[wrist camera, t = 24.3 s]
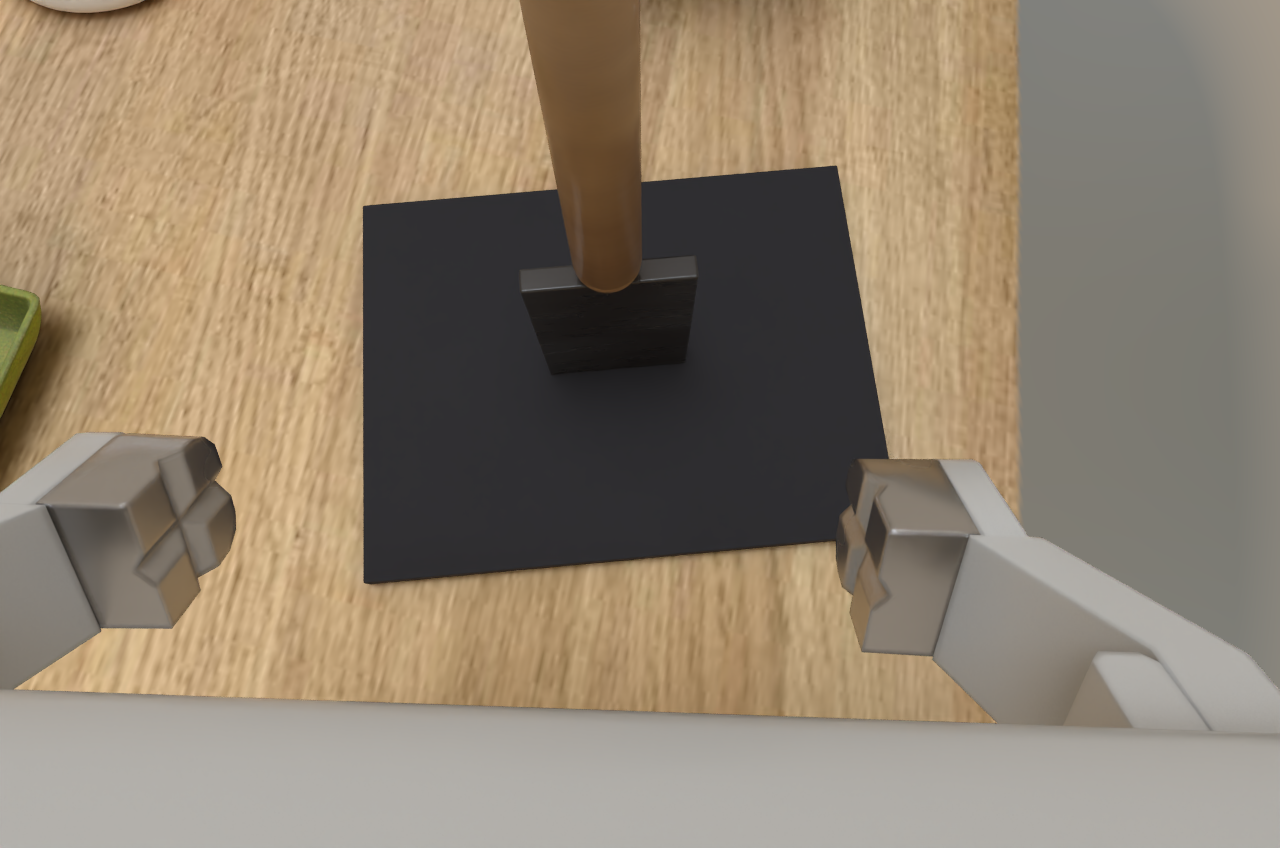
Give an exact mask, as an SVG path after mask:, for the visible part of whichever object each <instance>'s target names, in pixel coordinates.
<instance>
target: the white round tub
mask: <svg viewBox="0 0 1280 848" xmlns="http://www.w3.org/2000/svg"><path fill="white" fill-rule="evenodd" d="M30 1H32V2H34V3H37V4H39V5H42V6H45V7H47V8H51V9H55V10H60V11H66V12H76V13H93V12H102V11H110V10H115V9H120V8H124V7H128V6H131V5H134V4H137V3H140V2H143V1H145V0H30Z"/></svg>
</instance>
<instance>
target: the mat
mask: <svg viewBox="0 0 1280 848" xmlns="http://www.w3.org/2000/svg"><path fill="white" fill-rule="evenodd" d="M641 207H642V259H651V258H663V257H675V256H686V255H695V256H696V259H697V267H698V283H697V289H696V296H695V303H694V309H693V316H692V322H691V329H690V335H689V342H688V348H687V355H686V361H685V363H677V364H666V365H654V366H643V367H632V368H620V369H609V370H598V371H587V372H575V373H564V374H553V375H552V374H551V373H550V371H549V368H548V365H547V363H546V360H545V357H544V355H543V352H542V349H541V347H540V344H539V341H538V339H537V336H536V333H535V331H534V328H533V325H532V322H531V320H530V317H529V314H528V312H527V309H526V306H525V304H524V301H523V298H522V296H521V293H520V283H519V271H520V270H524V269H535V268H547V267H558V266H570V265H572V260H571V255H570V250H569V245H568V240H567V235H566V230H565V225H564V220H563V215H562V210H561V205H560V200H559V195H558V190H545V191H533V192H521V193H510V194H498V195H486V196H474V197H463V198H451V199H439V200H427V201H416V202H404V203H392V204H380V205H369V206H363V476H364V583H366V584H377V583H388V582H399V581H410V580H420V579H431V578H442V577H452V576H463V575H474V574H484V573H495V572H506V571H516V570H527V569H538V568H549V567H559V566H570V565H581V564H591V563H602V562H613V561H623V560H634V559H645V558H655V557H666V556H677V555H688V554H698V553H709V552H720V551H730V550H741V549H752V548H762V547H773V546H784V545H794V544H805V543H816V542H827V541H836V535H837V528H838V522H839V516H840V514H841V513H842V512H843V511H845V510H846V509H847V508H848V507H849V506H850V505H851V503H850V500H849V497H848V494H847V491H846V488H845V484H846V479H847V474H848V470H849V467H850V465H851V462H852V460H853V459H889V457H888V452H887V446H886V441H885V435H884V429H883V424H882V418H881V412H880V407H879V401H878V395H877V390H876V384H875V378H874V373H873V367H872V361H871V356H870V350H869V344H868V339H867V333H866V328H865V322H864V316H863V311H862V305H861V299H860V294H859V288H858V282H857V277H856V271H855V265H854V260H853V254H852V248H851V243H850V237H849V231H848V226H847V220H846V215H845V209H844V203H843V198H842V192H841V186H840V181H839V175H838V169H837V166H827V167H815V168H803V169H792V170H780V171H768V172H756V173H745V174H733V175H721V176H709V177H698V178H686V179H674V180H662V181H651V182H641Z"/></svg>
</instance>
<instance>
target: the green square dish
mask: <svg viewBox="0 0 1280 848" xmlns="http://www.w3.org/2000/svg"><path fill="white" fill-rule="evenodd" d="M40 325H41V306H40V300H39V298H38V296H37V295H35V294H34V293H31V292H28V291H25V290H21V289H16V288H12V287H8V286H5V285H0V418H1V416H2V414H3V412H4V410H5V407H6V405H7V403H8V401H9V399H10V397H11V395H12V393H13V390H14V388H15V386H16V384H17V382H18V380H19V378H20V375H21V373H22V371H23V369H24V367H25V365H26V363H27V360H28V358H29V356H30V354H31V352H32V350H33V348H34V345H35V343H36V340H37V338H38V334H39V330H40Z"/></svg>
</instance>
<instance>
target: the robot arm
mask: <svg viewBox="0 0 1280 848" xmlns="http://www.w3.org/2000/svg"><path fill="white" fill-rule="evenodd" d="M221 468H222V464H221V461H220V458H219V455H218V452H217V449H216V447H215V444H213V443H212V442H210V441H209V440H208V439H206V438H205V437H194V436H175V435H155V434H136V433H127V434H125V433H122V432H86V433H78V434H75V435H74V436H73V437H71V438H70V439H69V440H67V441H66V442H65V443H64V444H62V445H61V446H60V447H58V448H57V449H56V450H54V451H53V452H52V453H51V454H49V455H48V456H47V457H45V458H44V459H43V460H42V461H40V462H39V463H38V464H36V465H35V466H34V467H33V468H31V469H30V470H29V471H27V472H26V473H25V474H24V475H22V476H21V477H20V478H18V479H17V480H16V481H14V482H13V483H12V484H11V485H9V486H8V487H7V488H5V489H4V490H3V491H2V492H0V848H1280V690H1279V688H1277V686H1276V685H1275V684H1274V683H1273V682H1272V680H1271V679H1270V678H1269V677H1268V676H1267V675H1266V673H1265V672H1264V671H1263V670H1262V669H1261V668H1260V666H1259V665H1258V664H1257V663H1256V662H1255V661H1254V659H1253V658H1252V657H1251V656H1250V655H1249V654H1248V653H1246V652H1244V651H1243V650H1241V649H1239V648H1237V647H1236V646H1234V645H1232V644H1230V643H1228V642H1226V641H1225V640H1223V639H1221V638H1220V637H1217V636H1216V635H1214V634H1212V633H1211V632H1209V631H1207V630H1205V629H1204V628H1202V627H1200V626H1198V625H1196V624H1195V623H1193V622H1191V621H1189V620H1187V619H1186V618H1184V617H1182V616H1180V615H1179V614H1177V613H1175V612H1173V611H1172V610H1170V609H1168V608H1166V607H1165V606H1163V605H1161V604H1159V603H1157V602H1156V601H1154V600H1152V599H1150V598H1148V597H1147V596H1145V595H1143V594H1141V593H1140V592H1138V591H1136V590H1134V589H1133V588H1131V587H1129V586H1127V585H1125V584H1124V583H1122V582H1120V581H1118V580H1117V579H1115V578H1113V577H1111V576H1110V575H1108V574H1106V573H1104V572H1102V571H1101V570H1099V569H1097V568H1095V567H1094V566H1092V565H1090V564H1088V563H1086V562H1085V561H1083V560H1081V559H1079V558H1078V557H1076V556H1074V555H1072V554H1070V553H1069V552H1067V551H1065V550H1063V549H1062V548H1060V547H1058V546H1056V545H1054V544H1053V543H1051V542H1049V541H1047V540H1046V539H1044V538H1042V537H1029V536H1028V535H1027V533H1026V532H1025V530H1024V529H1023V527H1022V526H1021V524H1020V523H1019V521H1018V520H1017V518H1016V517H1015V515H1014V514H1013V512H1012V511H1011V509H1010V508H1009V506H1008V505H1007V503H1006V502H1005V500H1004V499H1003V497H1002V496H1001V494H1000V493H999V491H998V490H997V488H996V486H995V485H994V483H993V482H992V480H991V479H990V477H989V476H988V474H987V473H986V471H985V470H984V468H983V467H982V465H981V464H980V463H979V462H977V461H975V460H973V459H853V460H852V462H851V465H850V467H849V470H848V474H847V479H846V484H845V488H846V491H847V494H848V497H849V500H850V503H851V505H850V506H849V507H848V508H847V509H846V510H845V511H843V512H842V513H841V514H840V516H839V522H838V528H837V535H836V562H837V569H838V574H839V578H840V581H841V585H842V587H843V588H844V589H845V590H847V591H848V592H849V593H850V594H852V595H853V597H852V602H851V607H850V616H851V619H852V622H853V625H854V629H855V632H856V635H857V638H858V642H859V645H860V648H861V651H862V652H869V653H885V654H902V655H919V656H933V659H932V660H933V661H934V662H935V663H936V664H937V665H938V666H940V667H941V668H942V669H943V670H944V671H945V672H946V673H947V674H948V675H949V676H950V677H951V678H952V679H953V680H954V681H955V682H956V683H957V684H958V685H959V686H960V687H961V688H962V689H963V690H964V691H965V692H966V693H967V694H968V695H969V696H970V697H971V698H972V699H973V700H974V701H975V702H976V703H977V704H978V705H980V706H981V707H982V708H983V709H984V710H985V711H986V712H987V713H988V714H989V715H990V716H991V717H992V718H993V719H994V720H995V721H996V722H997V723H998V724H996V723H967V722H937V721H905V720H876V719H848V718H819V717H791V716H762V715H734V714H705V713H677V712H648V711H620V710H591V709H563V708H534V707H503V706H473V705H442V704H413V703H385V702H356V701H328V700H299V699H271V698H242V697H214V696H185V695H157V694H128V693H100V692H71V691H42V690H14V689H15V688H16V687H18V686H19V685H21V684H22V683H24V682H25V681H27V680H28V679H30V678H31V677H33V676H34V675H36V674H37V673H39V672H40V671H42V670H43V669H45V668H46V667H48V666H50V665H51V664H53V663H54V662H56V661H57V660H59V659H60V658H62V657H63V656H65V655H66V654H68V653H69V652H71V651H72V650H74V649H75V648H77V647H78V646H80V645H81V644H83V643H84V642H86V641H87V640H89V639H90V638H92V637H93V636H95V635H96V634H98V633H99V632H101V629H100V628H163V629H172V628H173V627H174V625H175V624H176V623H177V621H178V620H179V619H180V617H181V616H182V615H183V613H184V612H185V611H186V609H187V608H188V607H189V605H190V604H191V603H192V601H193V600H194V599H195V597H196V596H197V595H198V593H199V592H200V591H201V589H200V585H199V581H198V577H200V576H202V575H204V574H205V573H207V572H209V571H211V570H213V569H215V568H216V567H218V566H219V565H220V564H221V562H222V561H223V560H224V558H225V557H226V555H227V554H228V552H229V551H230V549H231V545H232V542H233V538H234V535H235V531H236V514H235V508H234V505H233V501H232V497H231V495H230V494H229V493H228V492H227V491H226V490H225V489H223V488H222V487H221V486H220V485H219V484H218V483H217V482H216V481H215V479H216V477H217V476H218V474H219V472H220V470H221Z"/></svg>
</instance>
